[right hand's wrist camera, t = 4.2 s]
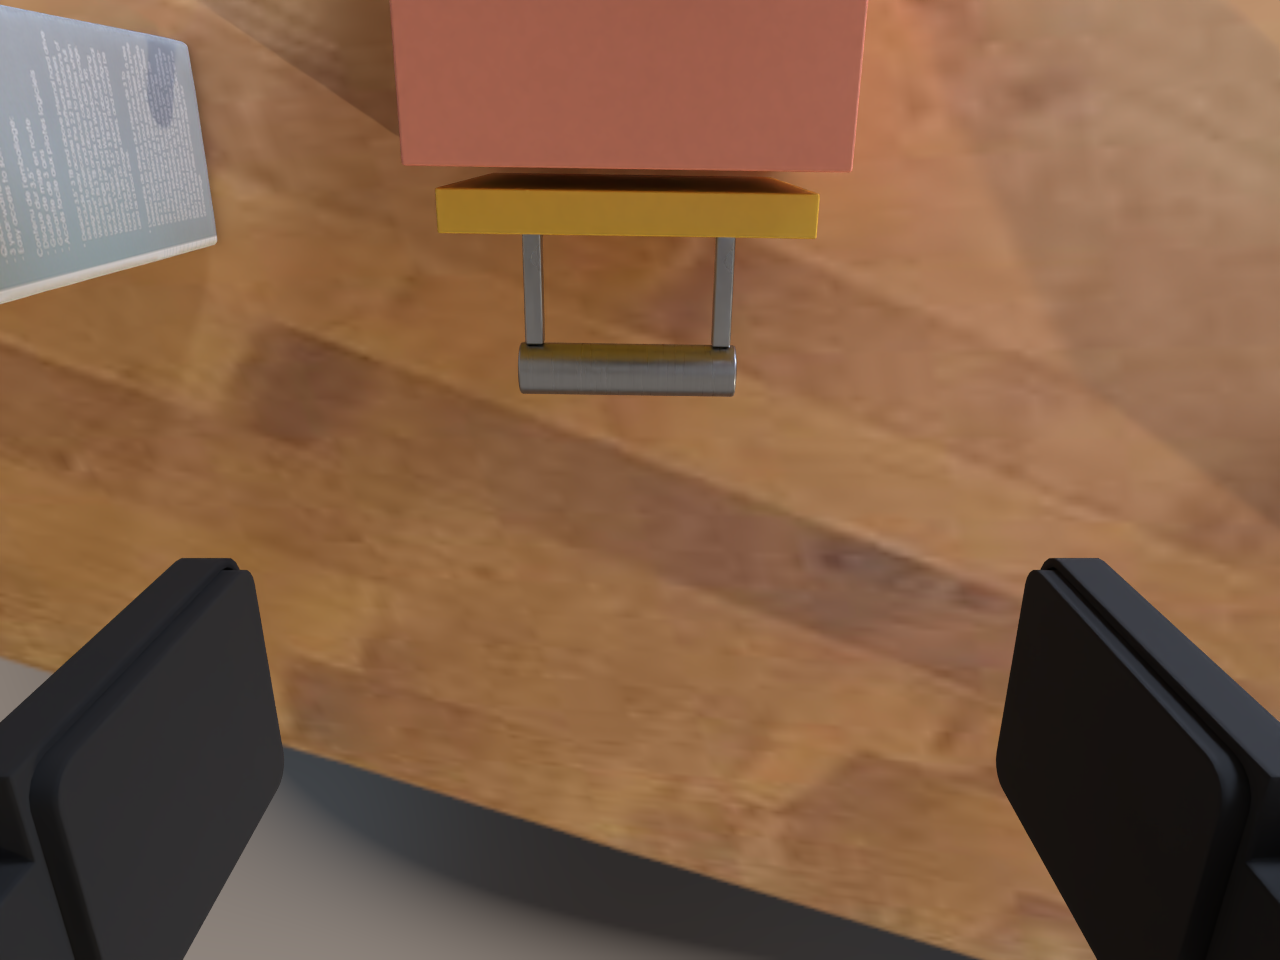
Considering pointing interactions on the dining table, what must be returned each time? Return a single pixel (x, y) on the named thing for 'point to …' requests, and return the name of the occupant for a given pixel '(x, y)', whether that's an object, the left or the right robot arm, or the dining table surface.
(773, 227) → the drawer
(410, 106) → the cabinet
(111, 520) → the dining table surface
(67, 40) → the hard drive box
